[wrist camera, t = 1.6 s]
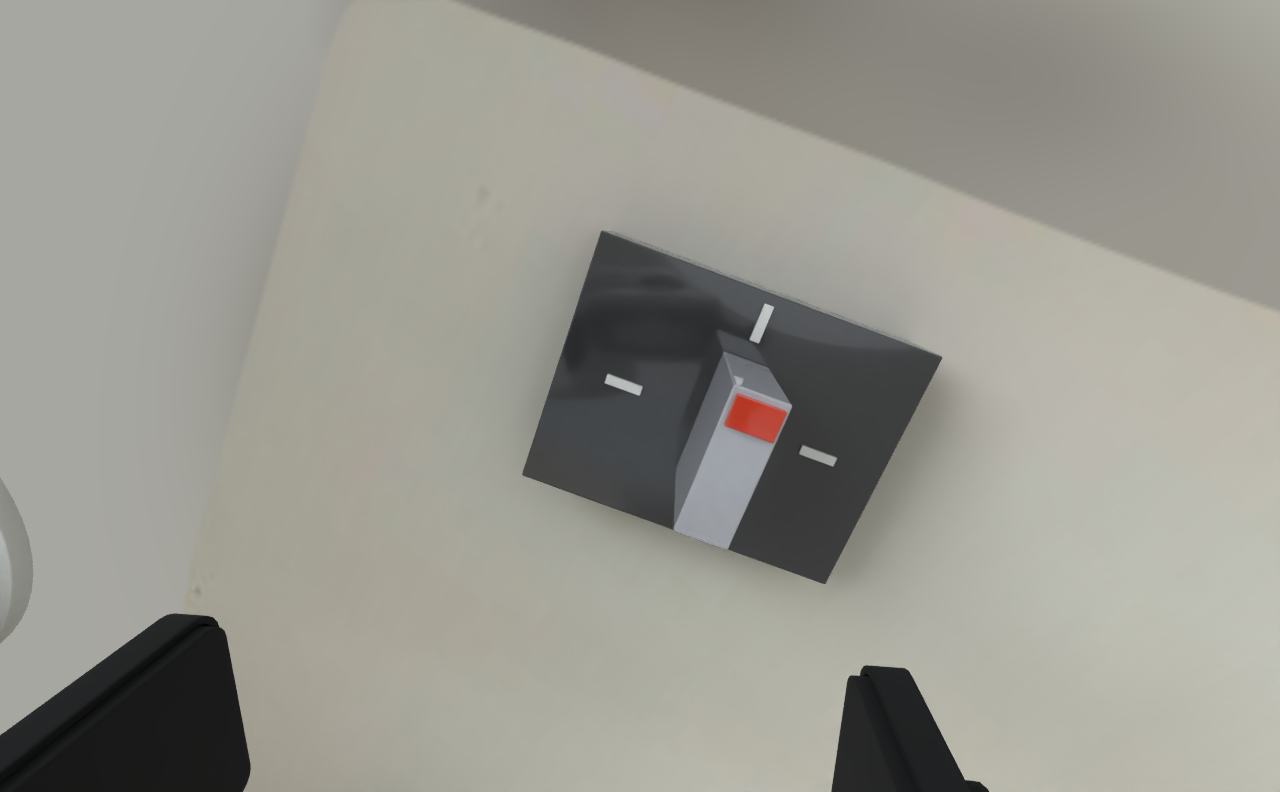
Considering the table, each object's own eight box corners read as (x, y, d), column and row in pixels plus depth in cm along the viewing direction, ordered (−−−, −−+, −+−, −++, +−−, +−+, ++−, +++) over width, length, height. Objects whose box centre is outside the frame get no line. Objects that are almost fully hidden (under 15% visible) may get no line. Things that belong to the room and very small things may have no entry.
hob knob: (718, 485, 23) (728, 555, 18) (675, 469, 23) (672, 535, 18) (769, 367, 22) (795, 408, 17) (723, 350, 22) (735, 386, 16)
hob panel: (539, 449, 26) (520, 477, 23) (611, 230, 24) (600, 230, 21) (810, 547, 27) (826, 587, 24) (912, 342, 24) (945, 358, 21)
